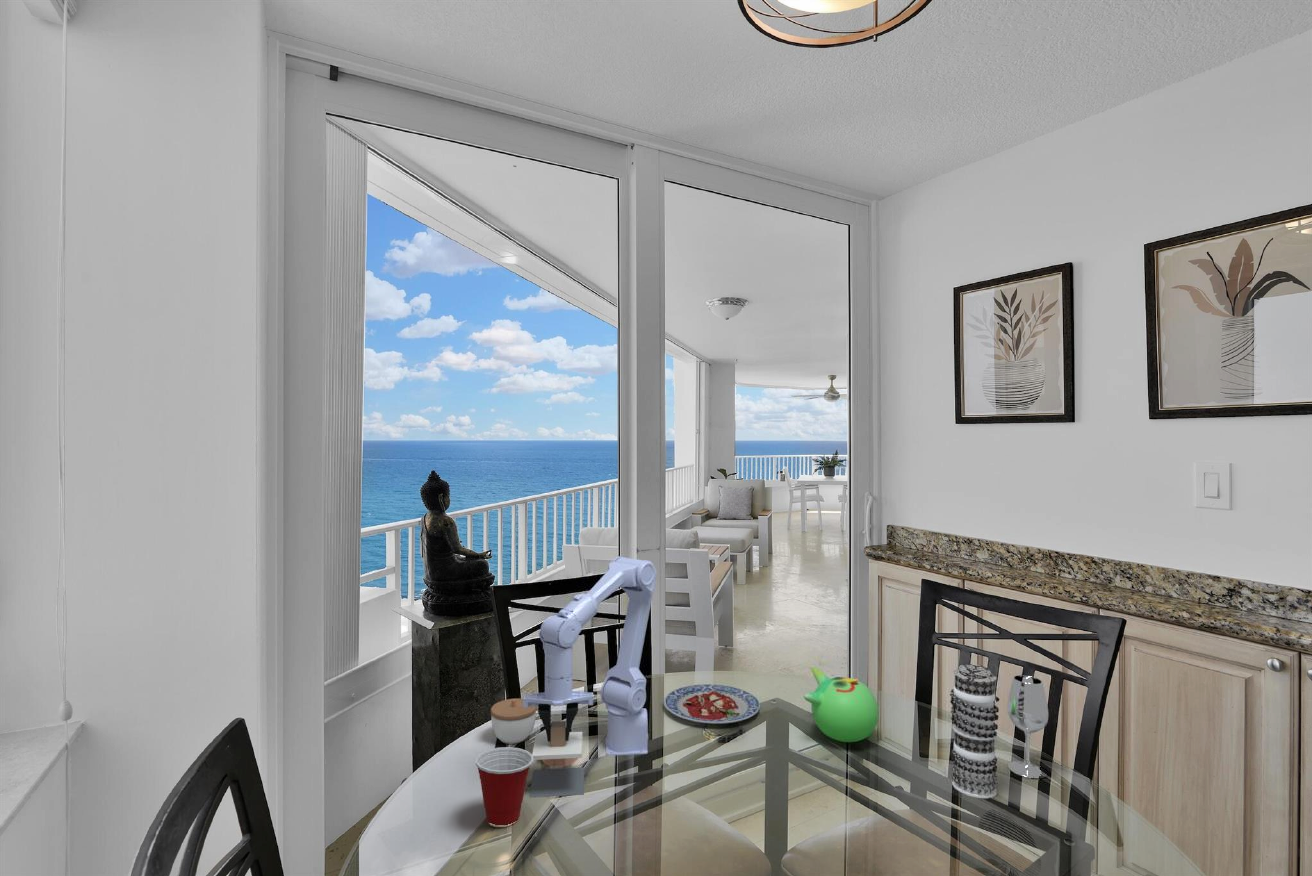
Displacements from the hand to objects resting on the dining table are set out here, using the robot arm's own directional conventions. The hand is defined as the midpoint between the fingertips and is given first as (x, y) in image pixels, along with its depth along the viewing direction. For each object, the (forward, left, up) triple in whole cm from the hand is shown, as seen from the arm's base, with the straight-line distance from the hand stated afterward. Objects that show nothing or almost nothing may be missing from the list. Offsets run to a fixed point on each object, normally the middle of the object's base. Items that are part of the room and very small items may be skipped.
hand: (558, 739), depth 136 cm
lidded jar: (+12, -21, -9) cm, 26 cm away
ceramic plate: (-39, -34, -10) cm, 53 cm away
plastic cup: (+10, +13, -9) cm, 18 cm away
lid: (0, 0, -2) cm, 2 cm away
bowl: (0, -10, -9) cm, 14 cm away
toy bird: (-68, -15, -9) cm, 70 cm away
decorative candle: (-87, +10, -9) cm, 88 cm away
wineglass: (-102, +5, -9) cm, 103 cm away
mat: (0, 0, -9) cm, 9 cm away
